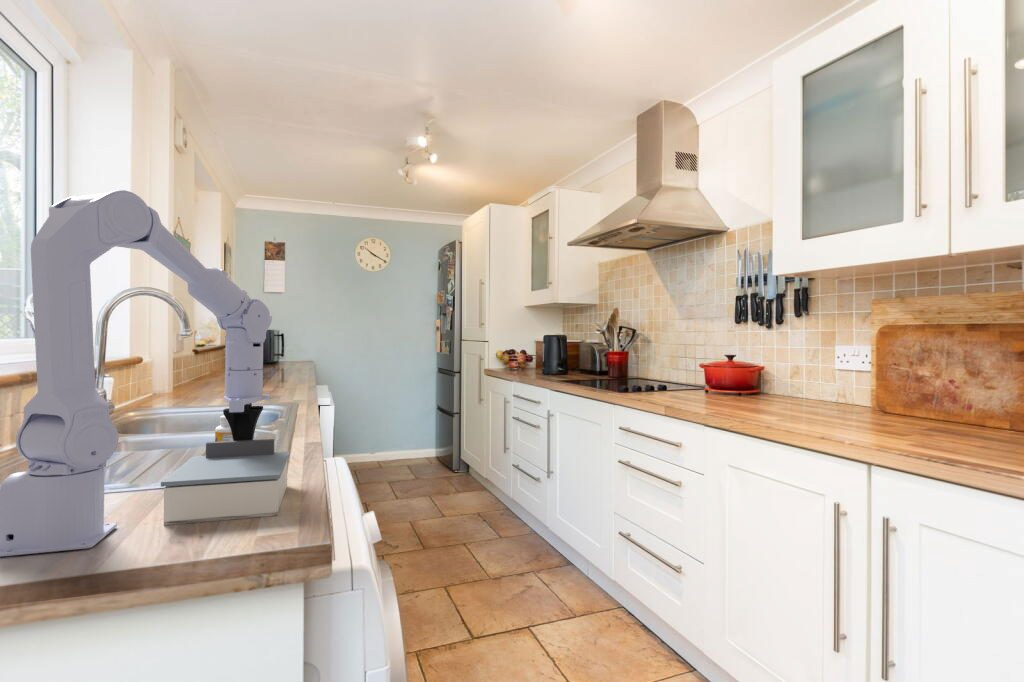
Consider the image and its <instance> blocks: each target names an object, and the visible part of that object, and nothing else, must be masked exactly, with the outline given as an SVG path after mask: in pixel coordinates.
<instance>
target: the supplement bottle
mask: <svg viewBox="0 0 1024 682" xmlns="http://www.w3.org/2000/svg"><path fill="white" fill-rule="evenodd" d="M214 439H215V440H214V442H219V441H233V436H232V432H231V428H230V425H229V423H228V421H227V419H226V417H225V416H224V414H223V415H220V416H219V425H218V426H216V427H215V429H214Z"/></svg>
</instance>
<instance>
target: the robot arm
mask: <svg viewBox="0 0 1024 682" xmlns="http://www.w3.org/2000/svg"><path fill="white" fill-rule="evenodd" d="M115 247H116V248H118V247H119V248H126V249H133V250H140V251H143V252H144V253H145V254H147V255H149V256H150V257H151V258H153V259H154V260H156V261H157V262H158V263H159V264H161V265H162V266H164V267H165V268H166V269H168V270H169V271H170V272H172V273H173V274H175V275H176V276H177V277H179V278H180V279H181V280H183V281H184V282H186V283H187V292H188V294H189V295H190V296H191V297H192V298H193V299H195V300H196V301H197V302H198V303H200V304H201V305H202V306H203V307H205V308H206V309H207V310H208V311H209V312H211V313H212V314H213V315H214V316H215V318H216V321H217V324H218V326H219V328H220V329H221V330H223V331H225V358H224V359H225V365H224V367H225V368H224V369H225V370H224V396H223V400H222V401H223V402H225V403H227V404H228V405H229V406H228V408H226V407H225V408H224V409H223V410H222V413H223V415H224V416H225V417H226V419H227V421H228V423H229V425H230V428H231V432H232V436H233V441H241V440H254V438H255V437H254V435H255V431H256V426H257V424H258V423H257V422H258V421H259V417H260V416H261V413H263V412H262V411H263V410H264V406H263V405H252V404H255V403H257V402H260V401H263V400H264V401H265V400H266V401H267V400H270V399H271V394H263V388H264V387H263V386H264V385H263V383H264V378H263V377H264V374H263V373H264V343H265V340H266V339H267V331H268V330H269V328H270V326H271V324H272V320H273V316H272V315H271V314H270V309H269V308H268V307H267V305H266V304H265V303H264V302H263V301H261V300H260V299H255V298H251V297H250V296H249V295H248V292H247V291H246V290H245V289H242V288H240V287H239V286H238V285H237V284H235V282H234V281H232V279H230V278H229V277H228V275H229V273H228V272H226V271H225V270H224V269H219V268H217V267H205V266H204V264H203V263H201V262H200V261H199V259H197V258H196V256H194V255H193V254H192V253H191V252H190V251H189V250H188V248H187V247H185V246H184V245H183V243H182V242H180V241H179V240H178V239H177V238H176V236H174V234H172V233H171V231H170V230H169V229H168V228H166V227H165V226H164V224H163V223H162V222H161V218H160V215H159V213H158V211H156V210H155V209H153V208H152V207H151V206H149V205H148V204H147V203H146V201H144V200H143V198H141V196H139V195H137V194H136V193H134V192H131V191H129V190H125V189H115V190H113V191H110V192H104V193H97V194H89V195H72V196H69V197H67V198H65V199H63V200H60V201H58V202H56V203H55V204H53V205H50V206H48V217H47V218H46V220H45V222H44V223H43V224H42V226H41V228H40V229H39V231H38V232H37V233H36V235H35V236H34V238H33V239H32V242H31V244H30V264H31V281H32V282H31V283H32V302H33V321H34V322H33V324H34V341H35V343H34V345H35V361H36V362H35V364H36V383H37V384H36V385H37V387H36V388H37V393H35V395H34V396H32V398H31V399H30V400H29V401H28V402H26V404H25V406H24V407H23V420H22V423H21V425H20V427H19V429H18V431H17V433H16V436H15V447H16V450H17V451H18V453H19V455H20V456H21V457H23V459H25V460H27V461H28V463H27V464H28V465H27V471H17V472H13V473H11V474H9V475H8V476H7V477H6V478H5V479H4V480H3V481H2V483H1V486H0V557H9V556H10V557H11V556H20V555H31V554H41V553H52V552H61V551H72V550H74V551H75V550H81V549H82V550H83V549H91V548H93V547H94V546H95V545H97V544H98V543H99V542H100V541H101V540H103V539H104V538H105V537H106V536H107V535H108V534H110V533H111V532H112V531H113V530H114V529H116V528H117V526H118V524H117V523H116V522H112V523H105V468H106V467H107V461H109V459H110V458H111V457H112V456H113V455H114V453H115V451H116V449H117V448H118V444H119V431H118V429H117V427H116V426H115V424H114V422H113V421H112V419H111V416H110V407H109V406H110V405H109V404H108V403H107V401H106V400H105V398H104V397H103V396H102V395H101V393H99V392H98V390H97V388H96V373H95V370H96V369H95V353H94V351H95V350H94V349H95V348H94V327H93V324H94V323H93V306H92V305H93V304H92V303H93V302H92V284H91V283H92V282H91V264H92V263H93V262H94V261H96V260H97V259H98V258H100V257H101V256H104V254H106V253H107V252H109V251H110V250H112V248H113V249H114V248H115Z"/></svg>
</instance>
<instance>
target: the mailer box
mask: <svg viewBox="0 0 1024 682" xmlns="http://www.w3.org/2000/svg"><path fill="white" fill-rule="evenodd" d="M287 488H288V461H287V462H286V465H285V467H284V469H283V472H282V474H281V477H280V479H269V480H254V481H239V482H224V483H209V484H194V485H179V486H164V488H163V526H170V525H171V526H173V525H174V526H175V525H185V524H195V523H209V522H217V521H218V522H220V521H229V520H230V521H231V520H241V519H253V518H264V517H277V516H278V514H279V511H280V508H281V505H282V502H283V499H284V497H285V494H286V490H287Z"/></svg>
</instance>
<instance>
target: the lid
mask: <svg viewBox="0 0 1024 682" xmlns="http://www.w3.org/2000/svg"><path fill="white" fill-rule="evenodd" d="M275 440H276V439H275V438H271V439H270V438H269V439H266V438H265V439H253V440H241V441H219V442H215V441H207V442H205V455H194V456H192V457H190V458H189V459H188V460H186V461H185V462H184V463H183V464H182V465H180V466H179V467H178V468H177V469H175V470H174V471H173V472H172V473H170V474H169V475H168V476H167V477H165V478H164V479H163V480H161V482H160V488H161V487H162V488H163V487H164V488H165V487H166V486H179V485H194V484H209V483H224V482H239V481H254V480H269V479H280V477H281V474H282V472H283V469H284V467H285V465H286V462H287V463H288V460H289V457H290V451H289V450H288V451H275Z"/></svg>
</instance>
